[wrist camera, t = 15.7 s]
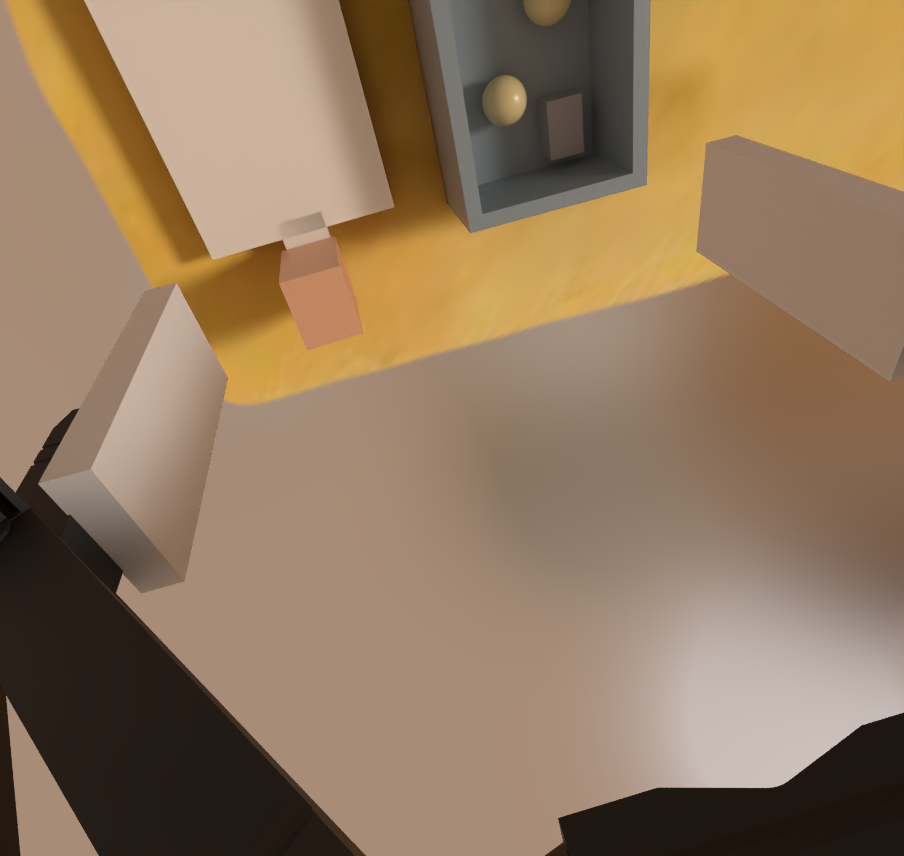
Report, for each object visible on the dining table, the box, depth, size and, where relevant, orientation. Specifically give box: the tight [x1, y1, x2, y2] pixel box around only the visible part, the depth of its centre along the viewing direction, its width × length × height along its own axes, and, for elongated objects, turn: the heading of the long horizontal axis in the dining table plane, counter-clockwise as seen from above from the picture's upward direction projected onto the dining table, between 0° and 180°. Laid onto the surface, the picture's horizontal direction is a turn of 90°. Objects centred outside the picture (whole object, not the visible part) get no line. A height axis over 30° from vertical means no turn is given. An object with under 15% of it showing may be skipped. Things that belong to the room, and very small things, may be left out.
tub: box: [408, 0, 651, 233], centre depth 28 cm, size 16×10×6 cm, turn 11°
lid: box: [84, 0, 394, 350], centre depth 27 cm, size 21×11×7 cm, turn 12°
